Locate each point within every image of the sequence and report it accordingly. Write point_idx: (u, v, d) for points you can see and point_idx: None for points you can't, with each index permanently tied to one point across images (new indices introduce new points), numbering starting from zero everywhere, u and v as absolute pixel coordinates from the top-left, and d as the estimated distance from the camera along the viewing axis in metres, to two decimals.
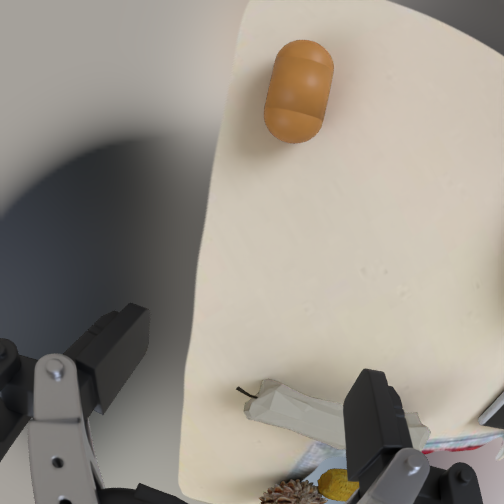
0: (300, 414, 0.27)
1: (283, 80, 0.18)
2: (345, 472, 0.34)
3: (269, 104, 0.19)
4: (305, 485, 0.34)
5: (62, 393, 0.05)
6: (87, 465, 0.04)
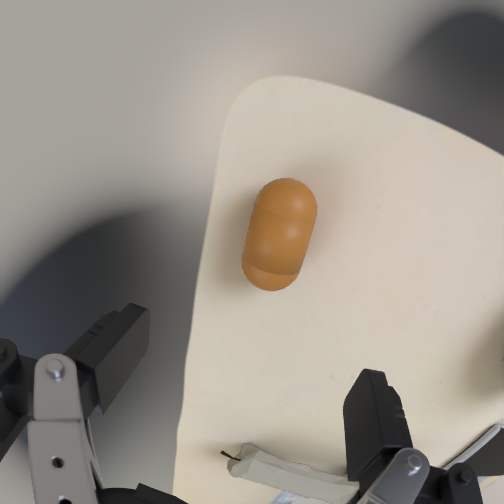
0: (273, 475, 0.29)
1: (261, 238, 0.20)
2: None
3: (246, 257, 0.21)
4: None
5: (62, 393, 0.05)
6: (87, 465, 0.04)
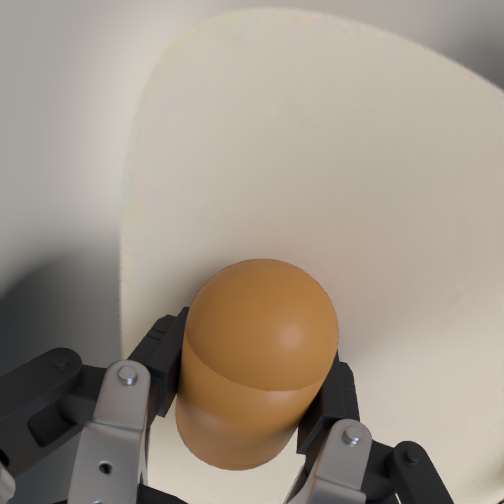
0: None
1: (199, 411, 0.07)
2: None
3: None
4: None
5: (129, 401, 0.06)
6: (136, 477, 0.04)
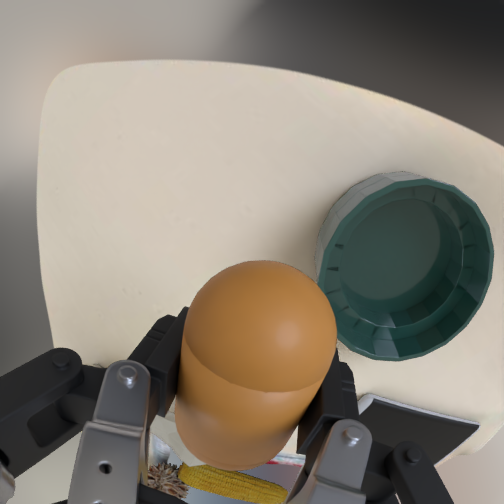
0: None
1: (197, 412, 0.07)
2: None
3: (178, 423, 0.09)
4: (167, 467, 0.41)
5: (129, 401, 0.06)
6: (136, 477, 0.04)
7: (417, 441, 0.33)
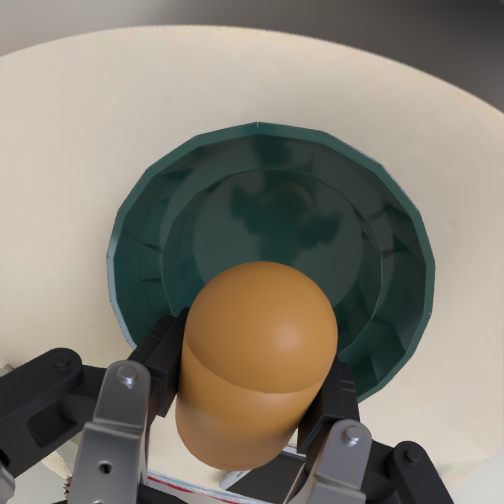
0: None
1: (198, 413, 0.07)
2: None
3: (179, 423, 0.09)
4: None
5: (129, 401, 0.06)
6: (136, 477, 0.04)
7: None
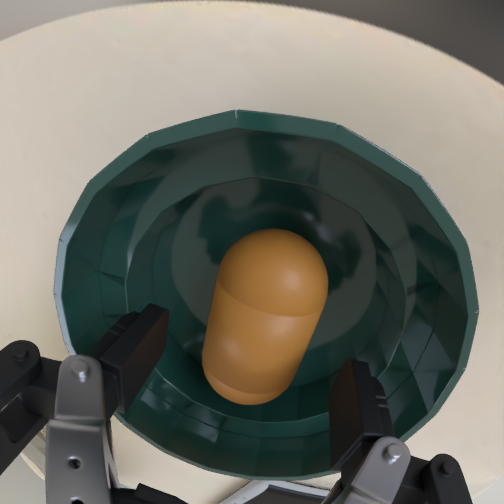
0: None
1: (226, 342, 0.11)
2: None
3: (206, 361, 0.12)
4: None
5: (86, 394, 0.06)
6: (105, 468, 0.04)
7: None
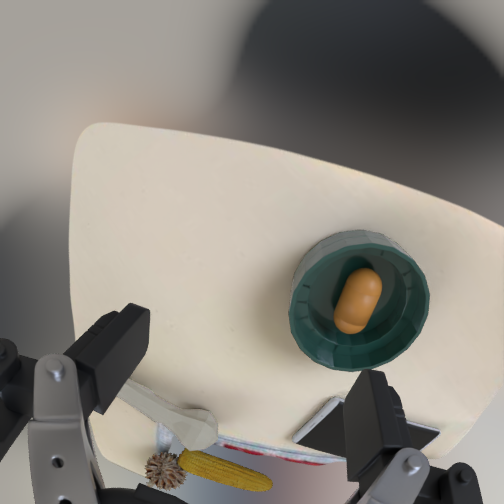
0: (121, 388, 0.43)
1: (351, 306, 0.32)
2: (195, 451, 0.49)
3: (339, 315, 0.33)
4: (168, 455, 0.50)
5: (62, 393, 0.05)
6: (87, 465, 0.04)
7: None
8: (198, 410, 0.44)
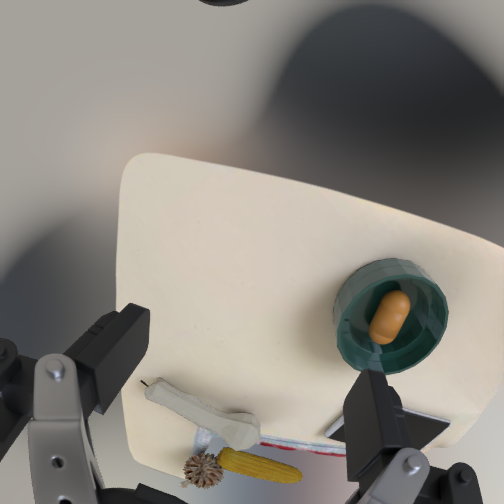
0: (170, 399, 0.48)
1: (385, 322, 0.37)
2: (233, 450, 0.55)
3: (375, 330, 0.38)
4: (207, 456, 0.55)
5: (62, 393, 0.05)
6: (87, 465, 0.04)
7: None
8: (243, 414, 0.49)
